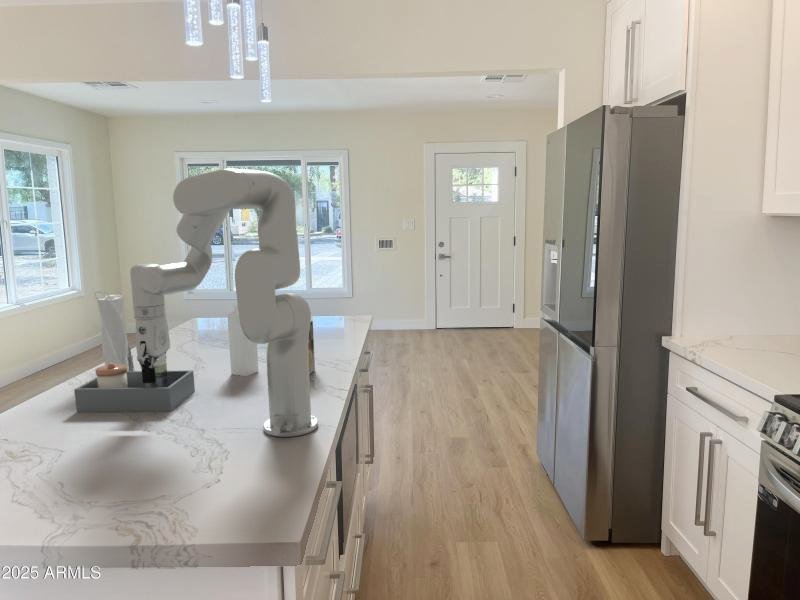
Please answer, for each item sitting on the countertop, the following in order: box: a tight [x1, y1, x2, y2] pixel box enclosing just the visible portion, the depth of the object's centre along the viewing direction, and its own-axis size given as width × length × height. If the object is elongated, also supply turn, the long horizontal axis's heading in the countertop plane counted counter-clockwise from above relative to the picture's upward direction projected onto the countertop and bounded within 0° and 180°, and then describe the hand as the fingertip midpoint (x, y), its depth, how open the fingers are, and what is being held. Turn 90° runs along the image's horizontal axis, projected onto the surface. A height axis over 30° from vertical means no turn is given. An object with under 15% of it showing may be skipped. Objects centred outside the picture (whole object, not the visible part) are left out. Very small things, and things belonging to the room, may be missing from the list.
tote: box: [74, 369, 196, 414], centre depth 151 cm, size 16×24×7 cm, turn 89°
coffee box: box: [308, 320, 316, 375], centre depth 176 cm, size 9×6×16 cm
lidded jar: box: [94, 363, 128, 388], centre depth 151 cm, size 7×7×10 cm
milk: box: [227, 304, 259, 377], centre depth 178 cm, size 6×6×22 cm
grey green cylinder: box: [143, 352, 168, 388], centre depth 150 cm, size 6×6×8 cm
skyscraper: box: [93, 290, 136, 371], centre depth 170 cm, size 8×8×28 cm
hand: (155, 378), depth 150 cm, fingers closed on grey green cylinder, 6 cm apart
